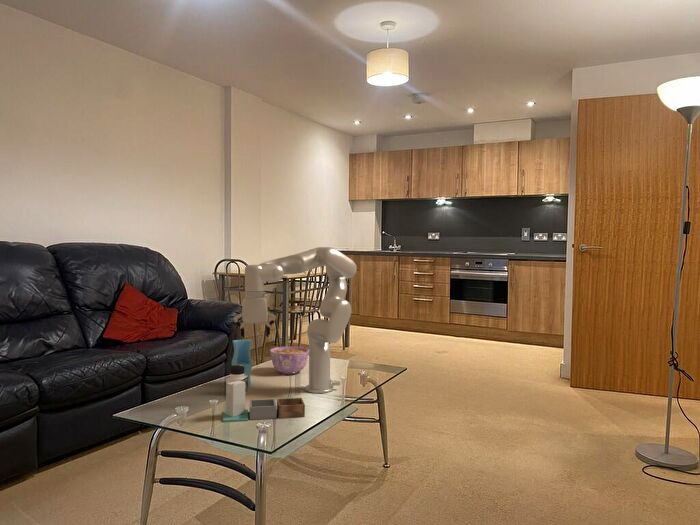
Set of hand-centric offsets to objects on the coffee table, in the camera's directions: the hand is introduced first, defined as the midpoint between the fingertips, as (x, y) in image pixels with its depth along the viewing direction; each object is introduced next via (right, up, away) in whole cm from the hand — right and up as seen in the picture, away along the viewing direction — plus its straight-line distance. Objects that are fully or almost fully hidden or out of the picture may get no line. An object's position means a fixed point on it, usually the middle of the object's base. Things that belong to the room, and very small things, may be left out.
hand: (255, 337), depth 212 cm
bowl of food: (+8, -26, +54) cm, 60 cm away
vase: (-12, -26, +29) cm, 41 cm away
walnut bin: (+16, -27, -13) cm, 34 cm away
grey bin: (+6, -27, -15) cm, 32 cm away
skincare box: (-4, -27, -17) cm, 32 cm away
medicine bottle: (-10, -27, +14) cm, 32 cm away
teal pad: (-4, -27, -18) cm, 32 cm away
